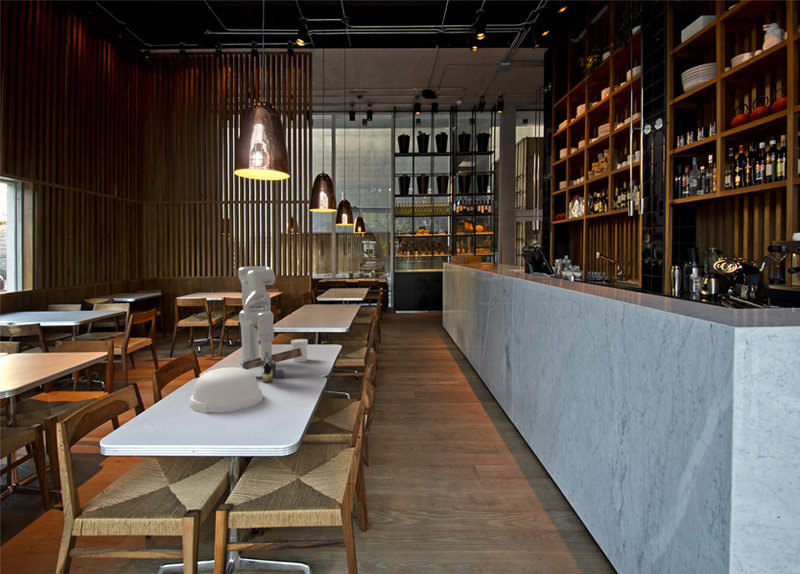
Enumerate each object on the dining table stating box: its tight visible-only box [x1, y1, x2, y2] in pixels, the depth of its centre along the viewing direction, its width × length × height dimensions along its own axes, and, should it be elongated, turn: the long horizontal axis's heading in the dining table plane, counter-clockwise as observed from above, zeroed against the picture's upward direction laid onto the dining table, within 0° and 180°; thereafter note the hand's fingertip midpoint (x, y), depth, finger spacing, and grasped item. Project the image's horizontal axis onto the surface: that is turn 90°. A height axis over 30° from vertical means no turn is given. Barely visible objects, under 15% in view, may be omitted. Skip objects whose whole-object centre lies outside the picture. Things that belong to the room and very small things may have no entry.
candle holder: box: [290, 338, 309, 363], centre depth 286 cm, size 10×10×12 cm
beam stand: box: [270, 359, 285, 380], centre depth 253 cm, size 10×15×9 cm, turn 16°
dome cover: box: [189, 366, 264, 414], centre depth 209 cm, size 32×30×14 cm
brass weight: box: [261, 368, 274, 384], centre depth 240 cm, size 5×5×6 cm
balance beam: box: [241, 348, 302, 370], centre depth 253 cm, size 30×8×4 cm, turn 106°
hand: (267, 371), depth 240 cm, fingers open, 9 cm apart
